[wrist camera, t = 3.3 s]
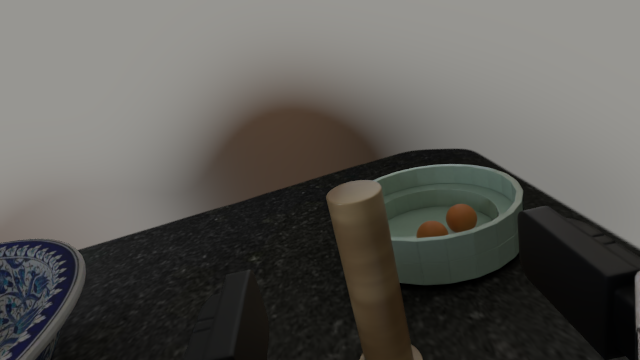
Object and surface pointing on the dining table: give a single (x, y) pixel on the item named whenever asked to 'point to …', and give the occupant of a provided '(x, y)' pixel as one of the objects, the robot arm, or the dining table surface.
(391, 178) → the pale green shallow dish
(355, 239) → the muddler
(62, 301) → the ceramic bowl
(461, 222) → the bead
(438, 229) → the bead
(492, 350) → the dining table surface
